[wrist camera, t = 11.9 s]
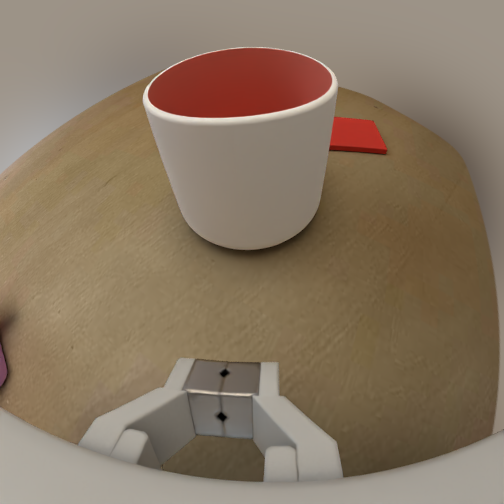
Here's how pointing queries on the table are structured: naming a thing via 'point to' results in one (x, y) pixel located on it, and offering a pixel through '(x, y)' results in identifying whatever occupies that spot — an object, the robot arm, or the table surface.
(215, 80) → the cup
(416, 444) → the table surface
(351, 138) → the spatula
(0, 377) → the teapot
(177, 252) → the table surface
